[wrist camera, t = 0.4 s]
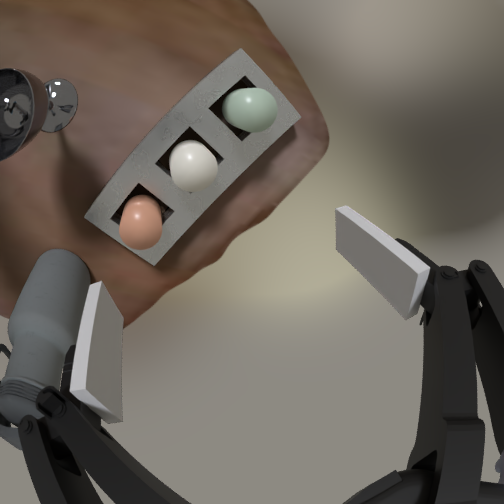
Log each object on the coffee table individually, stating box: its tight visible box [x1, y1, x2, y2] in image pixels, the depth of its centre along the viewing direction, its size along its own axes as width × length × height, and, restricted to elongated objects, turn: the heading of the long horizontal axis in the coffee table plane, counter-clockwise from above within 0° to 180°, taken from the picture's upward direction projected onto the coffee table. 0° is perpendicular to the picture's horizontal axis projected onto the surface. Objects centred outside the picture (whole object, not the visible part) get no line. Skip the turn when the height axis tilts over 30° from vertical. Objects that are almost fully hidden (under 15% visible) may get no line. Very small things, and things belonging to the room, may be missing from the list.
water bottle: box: [0, 249, 91, 451], centre depth 25 cm, size 10×10×28 cm
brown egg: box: [119, 195, 162, 250], centre depth 32 cm, size 5×5×5 cm
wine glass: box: [0, 68, 78, 161], centre depth 19 cm, size 8×8×15 cm
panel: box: [84, 48, 301, 266], centre depth 33 cm, size 12×28×3 cm, turn 133°
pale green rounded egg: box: [222, 88, 278, 133], centre depth 29 cm, size 5×5×5 cm
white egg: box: [169, 140, 218, 192], centre depth 31 cm, size 5×5×5 cm
